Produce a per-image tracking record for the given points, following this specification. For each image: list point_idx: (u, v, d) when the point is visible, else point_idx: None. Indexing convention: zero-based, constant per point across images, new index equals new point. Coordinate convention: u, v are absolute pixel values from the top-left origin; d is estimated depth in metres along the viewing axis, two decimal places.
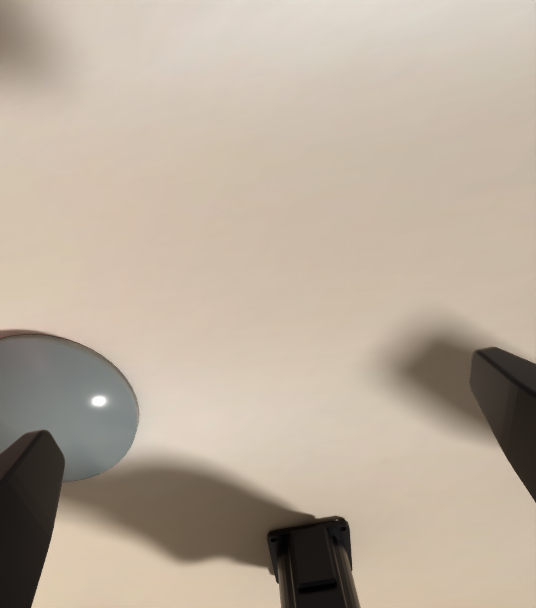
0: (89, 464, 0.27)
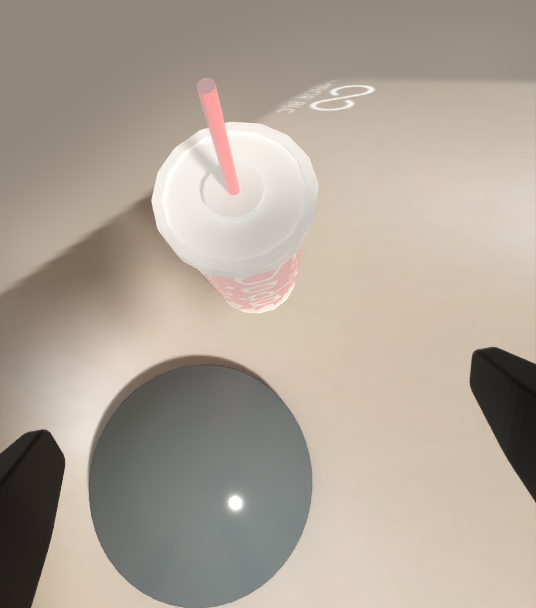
0: (193, 582, 0.19)
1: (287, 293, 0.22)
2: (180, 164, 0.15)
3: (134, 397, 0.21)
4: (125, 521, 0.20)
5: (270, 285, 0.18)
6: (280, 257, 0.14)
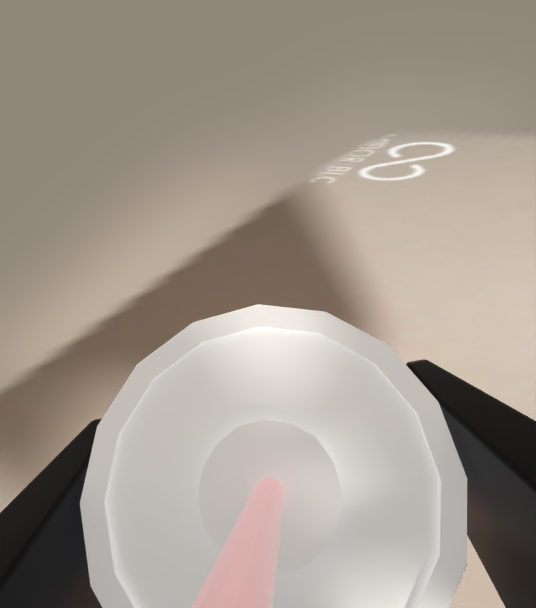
0: None
1: None
2: (148, 404, 0.07)
3: None
4: None
5: None
6: None
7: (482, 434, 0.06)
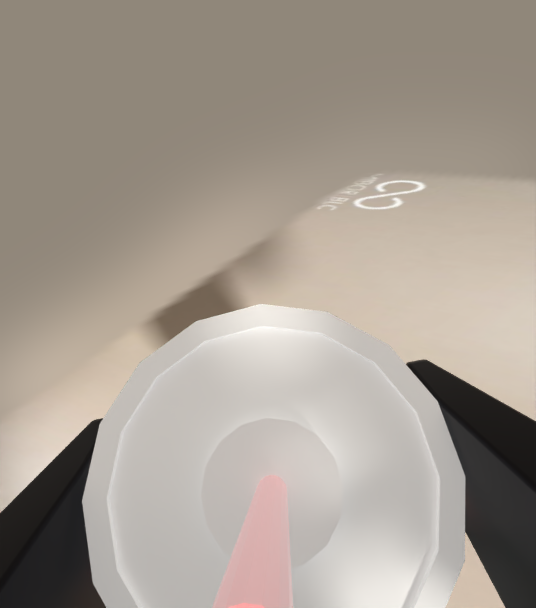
0: None
1: None
2: (151, 402, 0.07)
3: None
4: None
5: None
6: None
7: (482, 434, 0.06)
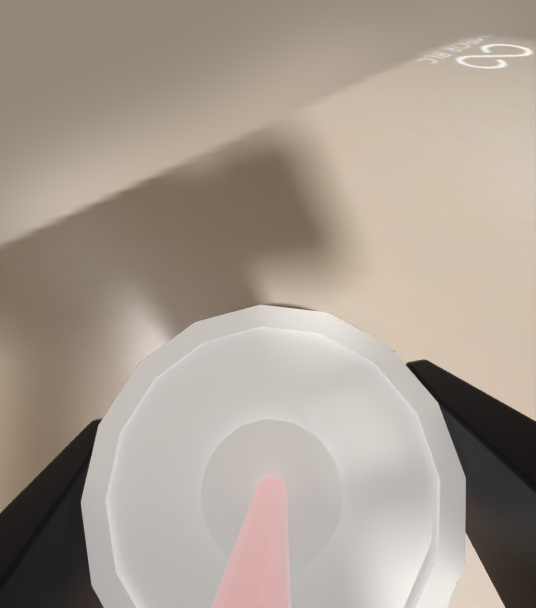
0: None
1: None
2: (150, 403, 0.07)
3: None
4: None
5: None
6: None
7: (481, 434, 0.06)
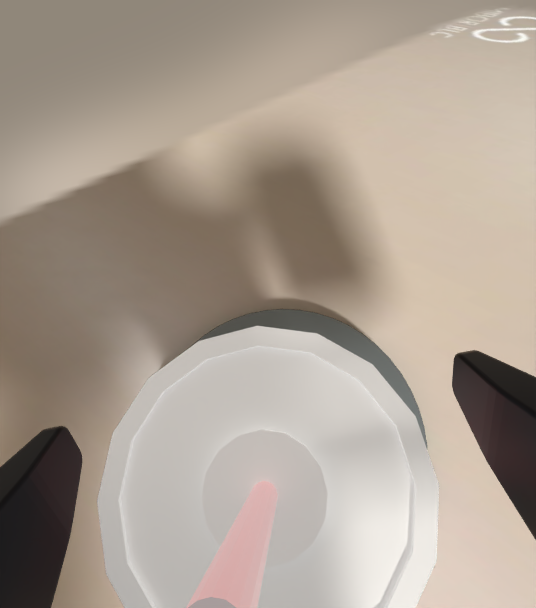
0: None
1: None
2: (158, 414, 0.08)
3: (216, 334, 0.17)
4: None
5: None
6: None
7: None
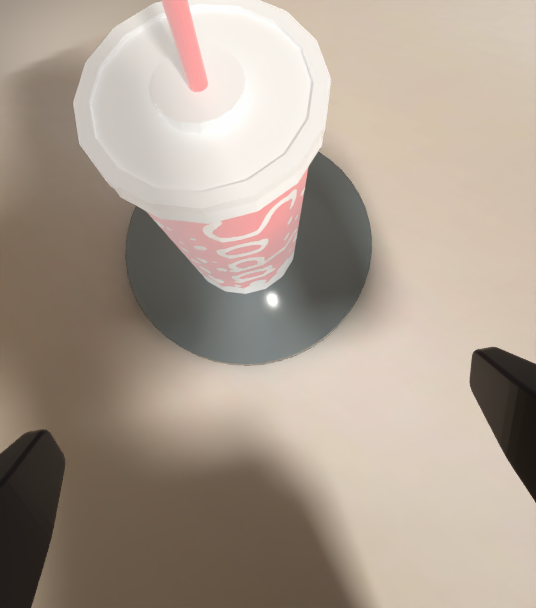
0: (223, 336, 0.17)
1: (283, 266, 0.17)
2: (121, 52, 0.10)
3: None
4: (160, 268, 0.18)
5: (258, 246, 0.13)
6: (269, 187, 0.09)
7: None
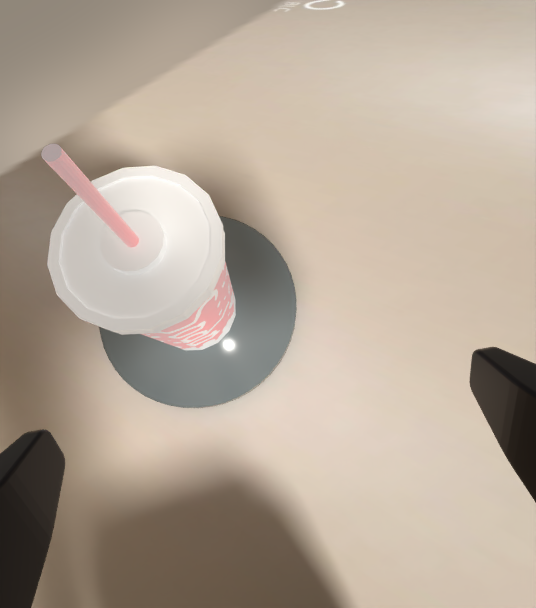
0: (189, 387, 0.22)
1: (227, 326, 0.21)
2: (74, 220, 0.15)
3: None
4: (130, 340, 0.22)
5: (198, 327, 0.17)
6: (190, 306, 0.13)
7: None
